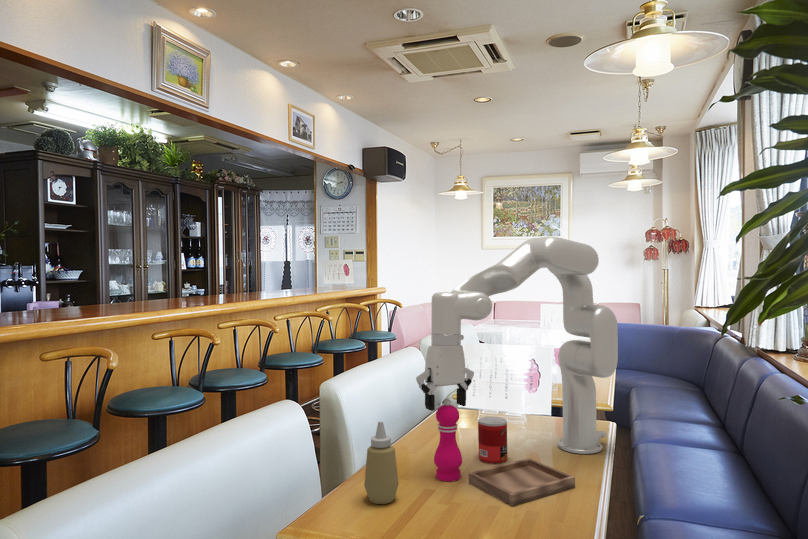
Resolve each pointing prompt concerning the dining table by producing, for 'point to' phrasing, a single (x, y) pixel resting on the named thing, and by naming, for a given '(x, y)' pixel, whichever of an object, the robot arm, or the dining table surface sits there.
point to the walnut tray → (521, 481)
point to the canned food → (492, 439)
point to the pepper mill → (447, 444)
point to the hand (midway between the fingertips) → (445, 407)
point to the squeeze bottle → (381, 468)
